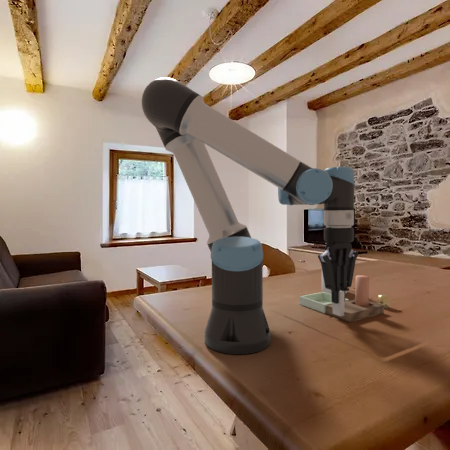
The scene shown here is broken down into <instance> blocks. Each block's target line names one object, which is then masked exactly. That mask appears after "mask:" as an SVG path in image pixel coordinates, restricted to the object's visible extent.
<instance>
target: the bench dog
mask: <svg viewBox="0 0 450 450" xmlns="http://www.w3.org/2000/svg"><path fill="white" fill-rule="evenodd" d="M377 303H378V304H381V305H384V310H386V309H390V295H389V294H386V293H385V294H384V293H380V294H378V295H377Z"/></svg>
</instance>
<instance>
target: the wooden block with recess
mask: <svg viewBox="0 0 450 450" xmlns="http://www.w3.org/2000/svg"><path fill="white" fill-rule="evenodd" d="M384 311H385V309H384V305H381V304H378V302H373V301H372V300H371V301H370V300H369V306H367V307H361V306H358V305H355V299H351V300H350V299H349V301H346V302H344V316H338V315H335V314H333V304H332V305H327V306H326V313H325V315H326V314H327V315H329V316H332V317H333V318H337V319H340V320H342V321H344V322H348V323H354V322H356V321H360V320H361V321H362V320H364V319H367V318H368V319H369V318H371V317H375V316H376V317H377V316H380V315H384Z"/></svg>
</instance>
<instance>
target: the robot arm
mask: <svg viewBox="0 0 450 450" xmlns="http://www.w3.org/2000/svg"><path fill="white" fill-rule="evenodd" d="M141 108H142V111H143V113H144V117H146V119H147V121H148V122H149V123H151V124H152V125H153V126H154V127H155V129H156V131H157V133H158V135H159V137H160V140H161V142H162V144H163V146H164V149H165V151H167V152H169V153H172V154H173V155H174V158H175V160H176V163H177V164H178V167H179V169H180V172H181V174H182V175H183V177H184V180H185V183H186V185H187V187H188V189H189V191H190V193H191V197H192V198H193V201H194V203H195V205H196V208H197V209H198V212H199V215H200V217H201V218H202V221H203V224H204V226H205V228H206V231H207V232H208V233H207V234H208V236H209V237H208V239H207V241H206V244H207V246H208V249H209V251H210V259H211V306H212V307H211V309H210V310H211V311H210V312H209V316H208V319H207V323H206V326H205V329H204V343H205V345H206V346H207V347H208V348H209V349H211V350H212V351H216V352H217V353H222V354H227V355H228V354H229V355H248V354H255V353H259V352H260V351H263V350H265V349H266V348H268V346H270V344H271V328H270V326H269V323H268V321H267V316H266V314H265V311H264V307H263V305H264V303H263V301H264V297H263V295H264V294H263V292H264V290H263V289H264V288H263V286H264V285H263V282H264V281H263V277H264V276H263V272H264V271H263V270H264V269H263V267H264V266H263V262H264V261H263V259H264V250H263V244H262V242H261V241H260V240H259V239H257V238H253V237H252V236H251V233H250V231H249V229H248V227H247V225H246V224H242V223H240V222H239V220H238V218H237V215H236V213H235V211H234V208H233V207H232V204H231V202H230V199H229V197H228V195H227V193H226V190H225V188H224V186H223V183H222V181H221V180H220V177H219V174H218V172H217V170H216V168H215V166H214V163H213V161H212V158H211V156H210V154H209V152H208V150H207V147H206V146H208V147H209V148H212V149H213V150H215V151H217V152H218V153H220V154H222V155H223V156H224V157H226V158H228V159H230V160H232V161H234V162H235V163H237V164H238V165H240V166H242V167H244V168H245V169H247V170H249V171H250V172H252V173H254V174H255V175H256V176H258V177H260V178H262V179H263V180H265V181H267V182H269V183H270V184H271V185H274V186H275V187H276V188H277V196H278V202H279V203H280V204H281V205H282V206H283V205H284V206H285V205H286V206H287V205H288V206H293V205H294V206H295V205H296V206H298V205H299V206H301V205H304V206H305V205H306V206H307V205H309V206H314V205H315V206H316V205H323V225H324V226H325V227H324V228H323V240H324V242H325V247H324V252H323V253H319V254H318V255H317V258H318V260H319V262H320V265H321V273H322V272H323V277H324V283H325V288H327V289H330V290H331V292H332V293H331V298H332V299H331V301H332V303H333V314H335V315H338V316H344V302H345V298H346V294H345V291H348V292H349V291H350V288H351V287H352V285H353V284H352V283H353V277H354V273H355V267H356V261H357V258H358V256H359V252H358V250H354V249H353V245H352V242H354V241H355V229H354V227H352V226H354V225H355V213H354V212H355V211H354V210H355V186H356V184H355V172H354V169H353V168H352V167H349V166H331V167H327V168H325V169H324V170H323V169H321V168H316V167H315V168H313V167H311V166H309V165H308V164H306V163H304V162H303V161H301V160H299V159H297V158H296V157H295V156H293V155H291V154H289V153H288V152H286V151H284V149H283V150H282V149H281V148H279V147H277V146H276V145H274V144H273V143H272V142H269V141H268V140H267V139H265V138H262V137H261V136H260V135H259V134H257V133H254V132H253V131H252V130H250V129H248V128H246V127H244V126H243V125H241V124H239V123H238V122H236V121H235V120H233V119H231V118H229V117H228V116H226V115H225V114H223V113H222V112H220V111H218V110H217V109H215V108H213V107H211V106H210V105H208V104H206V103H205V101H204V97H203V96H202V95H201V94H199V93H198V92H196V91H195V90H192V89H191V88H189V87H188V86H186V85H185V84H184V83H182V82H180V81H178V80H177V79H174V78H171V77H159V78H155V79H154V80H152V81H151V82H149V84H147V85H146V87H145V88H144V90H143V93H142V96H141ZM347 281H348V282H347Z"/></svg>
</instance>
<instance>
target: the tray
mask: <svg viewBox="0 0 450 450" xmlns="http://www.w3.org/2000/svg"><path fill="white" fill-rule="evenodd" d="M298 297H299V299H298V300H299V301H298V302H299V305H300V306H303V307H306V308H308V309H311V310H314V311H317V312H318V313H322V314H325V315H326V306H327V305H332V304H333V303H332V301H331V299H332V298H331V294H329V293H326V292H323V291H321V292H320V291H319V292H315V293H309V294H304V295H299V296H298ZM346 301H350V299H349V298H346V297H345V302H346Z"/></svg>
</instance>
